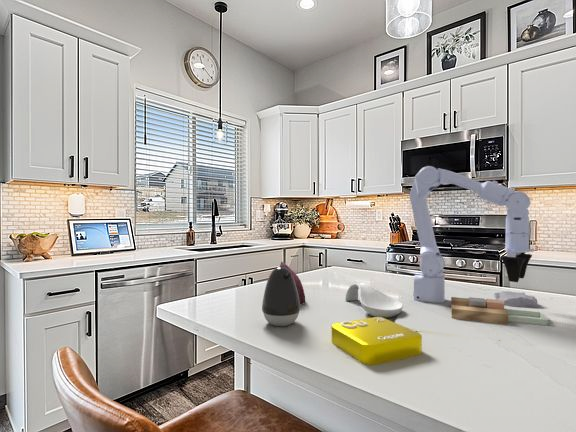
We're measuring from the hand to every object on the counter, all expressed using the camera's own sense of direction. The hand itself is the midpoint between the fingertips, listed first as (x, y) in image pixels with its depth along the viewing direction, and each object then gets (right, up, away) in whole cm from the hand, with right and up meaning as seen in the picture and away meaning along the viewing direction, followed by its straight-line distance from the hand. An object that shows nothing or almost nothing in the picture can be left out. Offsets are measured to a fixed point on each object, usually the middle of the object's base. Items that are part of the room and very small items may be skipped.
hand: (516, 279), depth 101 cm
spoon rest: (-41, -10, +5) cm, 43 cm away
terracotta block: (-10, -9, -5) cm, 14 cm away
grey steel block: (-13, -9, -4) cm, 17 cm away
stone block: (+5, -10, +9) cm, 14 cm away
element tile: (-47, -11, -24) cm, 54 cm away
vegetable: (-66, -10, +14) cm, 68 cm away
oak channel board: (-13, -10, -4) cm, 17 cm away
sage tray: (-3, -10, -8) cm, 13 cm away
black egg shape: (-68, -10, -8) cm, 70 cm away
